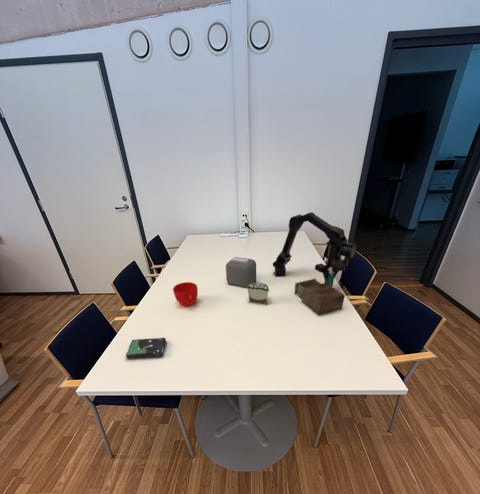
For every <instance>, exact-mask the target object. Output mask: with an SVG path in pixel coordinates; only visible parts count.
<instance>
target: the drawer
mask: <svg viewBox="0 0 480 494" xmlns="http://www.w3.org/2000/svg"><path fill="white" fill-rule="evenodd" d="M319 284H322V283H321V282H320V281H319V280H317V278H311V279H306V280H302V281H297V282H294V289H293V294H294V295H297V296H298V297H300V298H301V299H302V295H303V288H306V287H310V286H315V285H319Z"/></svg>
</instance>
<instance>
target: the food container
mask: <svg viewBox="0 0 480 494" xmlns="http://www.w3.org/2000/svg"><path fill="white" fill-rule="evenodd" d="M246 290H247V293H248V301H249V303H250V304H258V305H265V306H266V305H267V302H268V295H269V292H270V287H269V285H268V284H267V283H265V282H264V283H263V282H253V283H252V284H249V285H248V287H246Z"/></svg>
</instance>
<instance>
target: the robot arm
mask: <svg viewBox="0 0 480 494" xmlns="http://www.w3.org/2000/svg"><path fill="white" fill-rule="evenodd" d="M306 222H309V224H311V225H313V226H314V227H316V228H317V229H318V230H319V231H321V232H323V234H324V235H325V236H326V237H327V239H328V241H326V243H325V244H326V245H327V246H328V251H327V252H328V253H326V255H325V257H327V259H326V261H325V262H324V263H317V264H315V266H314V270H315V271H317V272H319V273H321V274H322V276H323V279H324V282H325V281H327V277H328V273H329V272H330V271H329V270H330V269H331V270H334V271H335V276H334V279H335V278H336V276H337V274H338V273H339V272H342V271H344V270H345V269H346V268H349V260H347V259H346V260H345V259H344V258H342V257H347V258H350V259H352V258H354V256H355V255H356V252H357V251H356V244H355V243H349V242H348V240H347V239H348V238H347V237H346V235H345V230H344V229H343V228H341V227H338V226H336V225H332V224H330V223H328V221H325V220H324V219H323V218H321V217H320V216H318V215H317V214H315V213H314V212H311V211H309V212H308V213H305V214H296V215H293V216H291V217H290V218H289V221H288V232H287V235H286V238H285V241H284V244H283V247H282V250H281V252H280V253H279V254H278V255H277V257H276V259H275V261H274V262H273V263H272V267H273V268H274V271H273V275H274V276H275V277H286V272H287V268H286V265H287V264H288V263H289V262H291V258H292V257H293V255H291V250H292V247H293V244H294V242H295V239H296V235H297V234H298V231H299V230H300V229H301V228H302V226H303V225H304V223H306Z"/></svg>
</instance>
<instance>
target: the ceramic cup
mask: <svg viewBox="0 0 480 494" xmlns="http://www.w3.org/2000/svg"><path fill="white" fill-rule="evenodd" d="M172 293H173V295H174V298H175V299H176V302H178V303H179V304H180V305H181V306H183V307H191V306H193V305H194V304H195V302H196V301H197V299H198V293H199V290H198V285H197V284H196V283H195V282H190V281H185V282H180V283H177V284H176V285H174V287H173V288H172Z"/></svg>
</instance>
